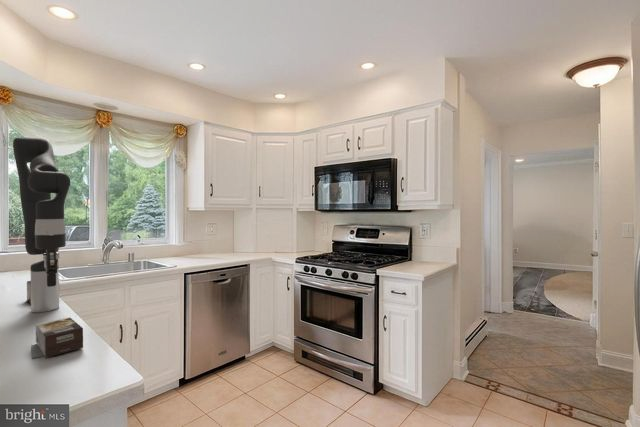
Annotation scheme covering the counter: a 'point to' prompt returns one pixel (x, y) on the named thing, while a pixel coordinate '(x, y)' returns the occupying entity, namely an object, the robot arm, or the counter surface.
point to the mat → (36, 351)
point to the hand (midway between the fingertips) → (51, 285)
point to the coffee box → (59, 336)
